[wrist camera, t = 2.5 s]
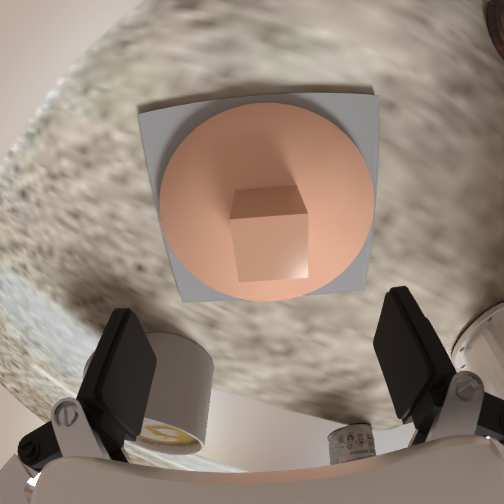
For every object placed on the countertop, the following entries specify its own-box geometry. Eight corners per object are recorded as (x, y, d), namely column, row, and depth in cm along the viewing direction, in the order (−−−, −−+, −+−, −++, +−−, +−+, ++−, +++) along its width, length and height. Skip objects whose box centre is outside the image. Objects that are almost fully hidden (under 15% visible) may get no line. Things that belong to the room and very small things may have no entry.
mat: (375, 94, 16) (378, 95, 16) (362, 285, 25) (364, 289, 24) (141, 113, 17) (138, 114, 17) (183, 298, 26) (182, 302, 25)
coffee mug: (232, 367, 31) (226, 448, 22) (178, 392, 34) (165, 458, 26) (134, 296, 26) (96, 382, 17) (92, 335, 29) (60, 404, 21)
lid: (371, 101, 16) (410, 108, 11) (360, 285, 24) (379, 331, 19) (145, 119, 17) (108, 132, 12) (186, 298, 25) (173, 345, 20)
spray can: (315, 438, 43) (324, 537, 26) (348, 419, 39) (365, 530, 22) (348, 442, 45) (360, 531, 28) (380, 424, 41) (399, 520, 24)
